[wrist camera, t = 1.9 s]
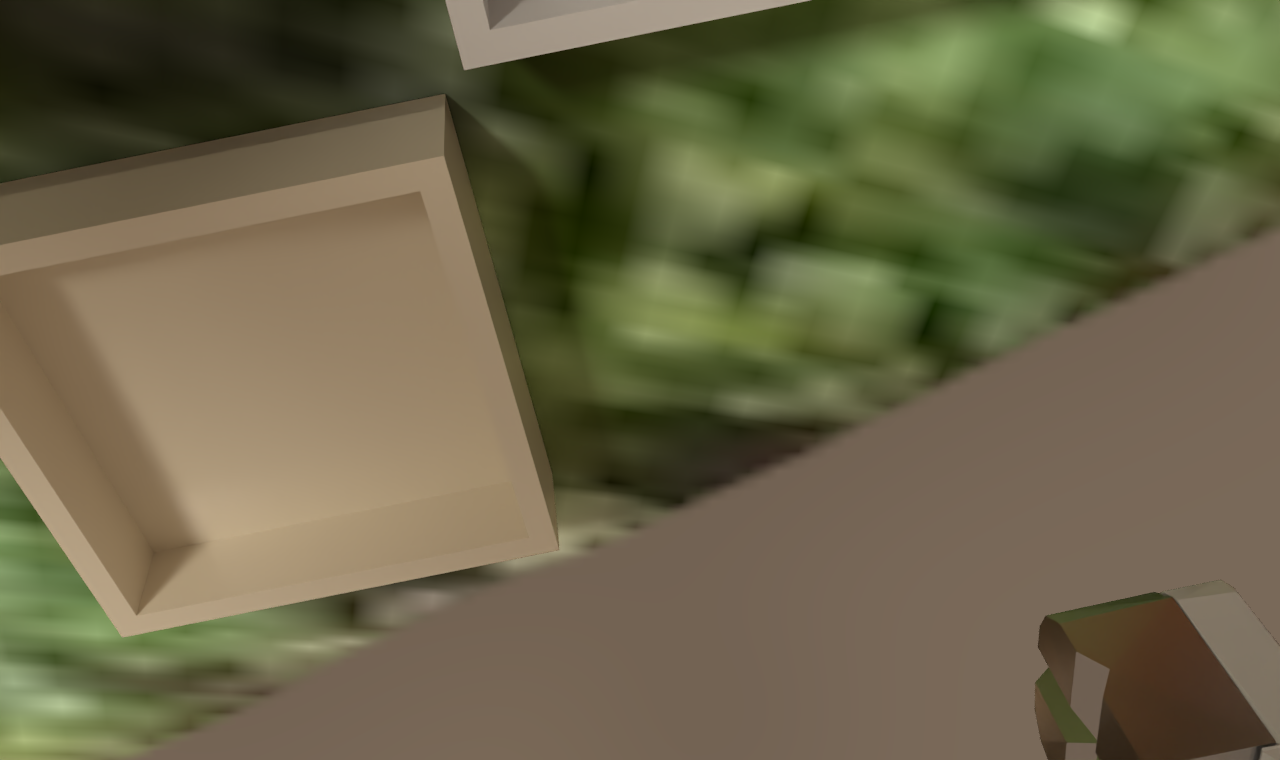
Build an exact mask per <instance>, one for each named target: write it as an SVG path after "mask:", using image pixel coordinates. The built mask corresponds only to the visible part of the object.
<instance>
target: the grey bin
mask: <svg viewBox="0 0 1280 760" xmlns="http://www.w3.org/2000/svg"><path fill="white" fill-rule="evenodd" d="M445 1H446V5H447V8H448V12H449V16H450V20H451V23H452V27H453V31H454V35H455V38H456V42H457V46H458V49H459V53H460V57H461V61H462V64H463V68H464V70H468V69H473V68H478V67H483V66H487V65H492V64H497V63H502V62H507V61H512V60H517V59H522V58H527V57H532V56H537V55H542V54H547V53H552V52H557V51H562V50H567V49H572V48H577V47H582V46H587V45H592V44H597V43H602V42H607V41H612V40H616V39H621V38H626V37H631V36H636V35H641V34H646V33H651V32H656V31H661V30H666V29H671V28H676V27H681V26H686V25H691V24H696V23H701V22H706V21H711V20H716V19H721V18H726V17H731V16H736V15H741V14H745V13H750V12H755V11H760V10H765V9H770V8H775V7H780V6H785V5H790V4H795V3H800V2H805V1H810V0H445Z"/></svg>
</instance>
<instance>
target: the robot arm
mask: <svg viewBox="0 0 1280 760" xmlns="http://www.w3.org/2000/svg"><path fill="white" fill-rule="evenodd" d="M1038 648H1039V650H1040V652H1041V654H1042V655H1043V657H1044V659H1045V661H1046V663H1047V665H1048V666H1049V668H1048V669H1047V670H1046V671H1045V672H1044V673H1043V674H1042V675H1041V677H1040V678H1039V679H1038V680H1037V681H1036V683H1035V714H1036V719H1037V724H1038V729H1039V734H1040V739H1041V742H1042V745H1043V748H1044V750H1045V753H1046V756H1047V759H1048V760H1280V645H1279V644H1278V643H1277V641H1276V640H1275V639H1274V638H1273V637H1272V635H1271V634H1270V633H1269V631H1268V630H1267V629H1266V628H1265V626H1264V625H1263V624H1262V622H1261V621H1260V620H1259V619H1258V617H1257V616H1256V615H1255V614H1254V612H1253V611H1252V610H1251V609H1250V607H1249V606H1248V605H1247V604H1246V602H1245V601H1244V600H1243V599H1242V597H1241V596H1240V595H1239V593H1238V592H1237V591H1236V590H1235V588H1234V587H1232V586H1231V585H1229V584H1227V583H1225V582H1224V581H1222V580H1217V581H1212V582H1207V583H1202V584H1197V585H1192V586H1187V587H1183V588H1178V589H1173V590H1168V591H1163V592H1161V593H1156V592H1153V593H1148V594H1143V595H1139V596H1135V597H1130V598H1125V599H1120V600H1116V601H1111V602H1107V603H1102V604H1098V605H1093V606H1088V607H1083V608H1079V609H1075V610H1070V611H1065V612H1061V613H1056V614H1051V615H1047V616H1045V618H1044V620H1043V621H1042V623H1041V625H1040V629H1039V641H1038Z"/></svg>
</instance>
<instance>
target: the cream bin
mask: <svg viewBox="0 0 1280 760" xmlns="http://www.w3.org/2000/svg"><path fill="white" fill-rule="evenodd" d="M0 458H1V459H2V461H3V462H4V464H5V465H6V467H7V468H8V470H9V471H10V473H11V474H12V476H13V477H14V479H15V480H16V482H17V483H18V485H19V486H20V487H21V489H22V490H23V492H24V493H25V495H26V496H27V498H28V499H29V501H30V502H31V504H32V505H33V507H34V508H35V510H36V511H37V512H38V514H39V515H40V517H41V518H42V520H43V521H44V523H45V524H46V526H47V527H48V529H49V530H50V532H51V533H52V535H53V536H54V538H55V539H56V540H57V542H58V543H59V545H60V546H61V548H62V549H63V551H64V552H65V554H66V555H67V557H68V558H69V560H70V561H71V563H72V564H73V566H74V567H75V568H76V570H77V571H78V573H79V574H80V576H81V577H82V579H83V580H84V582H85V583H86V585H87V586H88V588H89V589H90V591H91V592H92V594H93V595H94V596H95V598H96V599H97V601H98V602H99V604H100V605H101V607H102V608H103V610H104V611H105V613H106V614H107V616H108V617H109V619H110V620H111V622H112V623H113V624H114V626H115V627H116V629H117V630H118V632H119V633H120V635H121V636H122V637H127V636H132V635H137V634H142V633H147V632H152V631H157V630H162V629H167V628H172V627H177V626H182V625H187V624H192V623H197V622H202V621H207V620H212V619H217V618H222V617H227V616H232V615H237V614H242V613H247V612H252V611H257V610H262V609H267V608H272V607H277V606H282V605H287V604H292V603H297V602H302V601H307V600H312V599H317V598H322V597H327V596H332V595H337V594H342V593H347V592H352V591H357V590H362V589H367V588H372V587H377V586H382V585H387V584H392V583H397V582H402V581H407V580H412V579H417V578H422V577H427V576H432V575H437V574H442V573H447V572H452V571H457V570H462V569H467V568H472V567H477V566H482V565H487V564H492V563H497V562H502V561H507V560H512V559H517V558H522V557H527V556H532V555H537V554H542V553H547V552H552V551H557V550H559V540H558V529H557V518H556V507H555V496H554V485H553V475H552V471H551V468H550V464H549V460H548V457H547V453H546V450H545V446H544V443H543V439H542V436H541V432H540V429H539V425H538V421H537V418H536V414H535V411H534V407H533V404H532V400H531V397H530V393H529V390H528V386H527V382H526V379H525V375H524V372H523V368H522V365H521V361H520V358H519V354H518V351H517V347H516V343H515V340H514V336H513V333H512V329H511V326H510V322H509V319H508V315H507V312H506V308H505V304H504V301H503V297H502V294H501V290H500V287H499V283H498V280H497V276H496V273H495V269H494V265H493V262H492V258H491V255H490V251H489V248H488V244H487V241H486V237H485V234H484V230H483V226H482V223H481V219H480V216H479V212H478V209H477V205H476V202H475V198H474V194H473V191H472V187H471V184H470V180H469V177H468V173H467V170H466V166H465V163H464V159H463V155H462V152H461V148H460V145H459V141H458V138H457V134H456V131H455V127H454V124H453V120H452V116H451V113H450V109H449V106H448V102H447V99H446V95H445V94H441V95H436V96H431V97H426V98H421V99H416V100H411V101H406V102H401V103H396V104H391V105H386V106H382V107H377V108H372V109H367V110H362V111H357V112H352V113H347V114H342V115H337V116H332V117H327V118H322V119H317V120H312V121H307V122H302V123H297V124H292V125H287V126H282V127H277V128H272V129H267V130H262V131H257V132H252V133H248V134H243V135H238V136H233V137H228V138H223V139H218V140H213V141H208V142H203V143H198V144H193V145H188V146H183V147H178V148H173V149H168V150H163V151H158V152H153V153H148V154H143V155H138V156H133V157H128V158H123V159H118V160H114V161H109V162H104V163H99V164H94V165H89V166H84V167H79V168H74V169H69V170H64V171H59V172H54V173H49V174H44V175H39V176H34V177H29V178H24V179H19V180H14V181H9V182H4V183H0Z"/></svg>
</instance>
